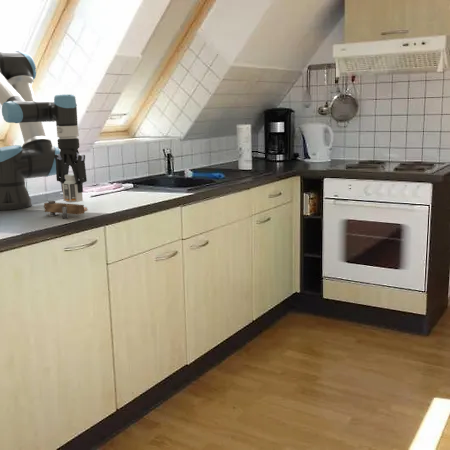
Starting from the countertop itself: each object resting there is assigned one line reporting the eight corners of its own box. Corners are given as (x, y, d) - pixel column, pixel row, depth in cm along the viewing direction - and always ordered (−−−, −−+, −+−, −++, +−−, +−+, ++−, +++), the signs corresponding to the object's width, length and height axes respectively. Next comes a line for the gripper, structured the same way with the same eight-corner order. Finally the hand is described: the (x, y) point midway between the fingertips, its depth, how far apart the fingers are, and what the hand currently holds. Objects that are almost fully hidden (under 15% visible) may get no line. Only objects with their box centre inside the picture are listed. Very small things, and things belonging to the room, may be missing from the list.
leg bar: (44, 211, 210) (44, 201, 209) (49, 210, 212) (48, 200, 211) (79, 214, 203) (78, 204, 202) (84, 213, 205) (83, 202, 204)
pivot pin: (43, 215, 209) (43, 212, 209) (53, 213, 213) (53, 210, 213) (52, 216, 207) (52, 213, 207) (61, 214, 211) (61, 211, 210)
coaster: (54, 211, 217) (53, 210, 217) (74, 207, 225) (74, 206, 225) (73, 213, 212) (73, 212, 211) (93, 209, 220) (93, 208, 220)
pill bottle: (82, 199, 220) (80, 173, 218) (79, 202, 215) (77, 175, 213) (67, 200, 220) (65, 174, 218) (63, 202, 215) (61, 175, 212)
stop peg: (61, 218, 203) (61, 207, 202) (65, 217, 204) (64, 206, 203) (65, 219, 202) (64, 207, 201) (68, 218, 203) (67, 206, 203)
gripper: (42, 138, 215) (47, 200, 219) (79, 138, 205) (84, 204, 209) (58, 137, 221) (63, 197, 225) (94, 137, 211) (98, 200, 216)
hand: (73, 200), depth 217 cm, fingers closed on pill bottle, 6 cm apart
